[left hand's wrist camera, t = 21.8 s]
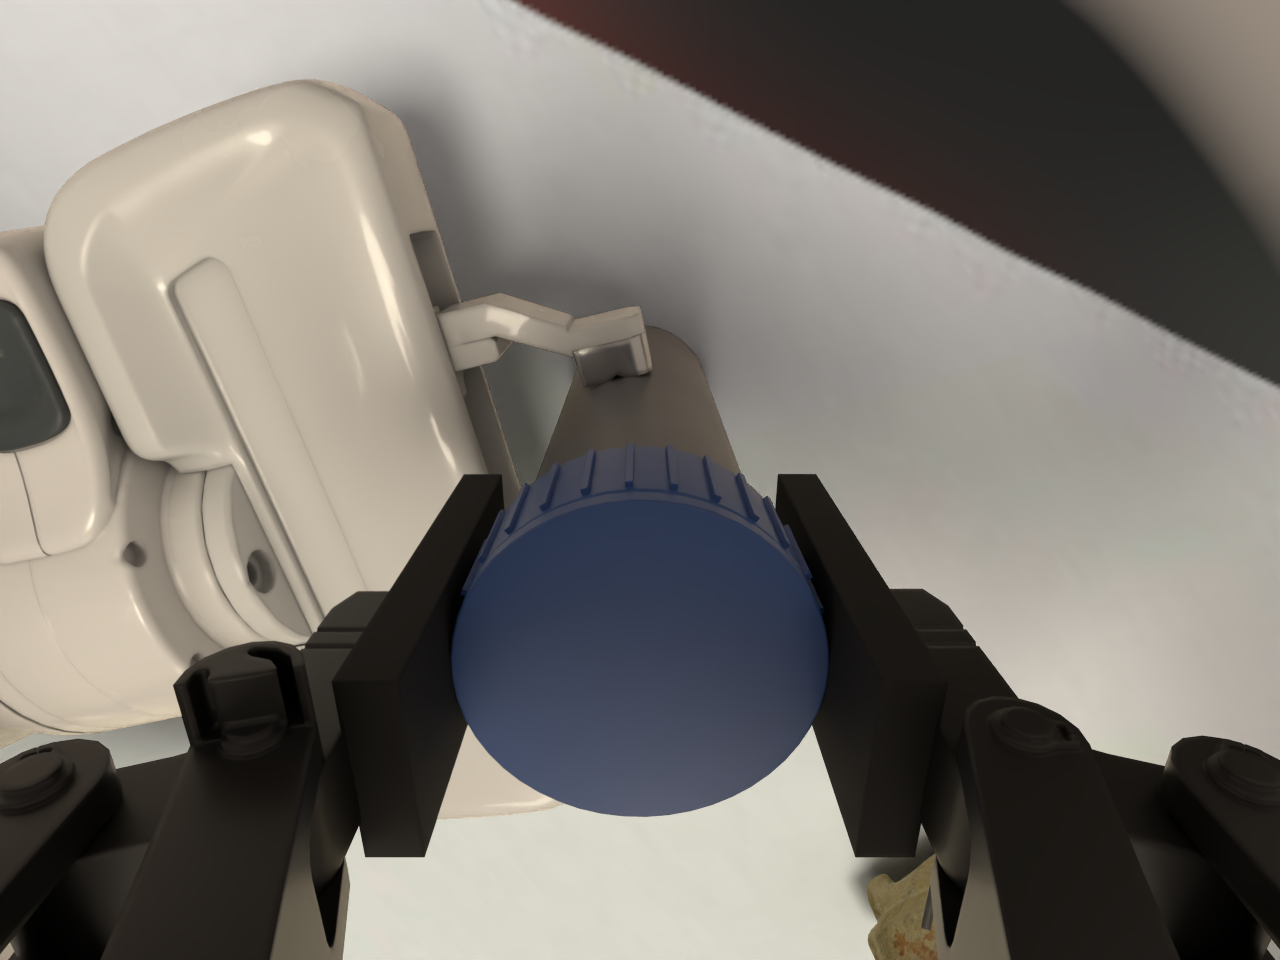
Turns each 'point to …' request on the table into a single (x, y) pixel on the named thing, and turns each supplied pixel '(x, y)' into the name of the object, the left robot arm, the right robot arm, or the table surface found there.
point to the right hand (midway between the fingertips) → (672, 447)
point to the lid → (639, 635)
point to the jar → (644, 410)
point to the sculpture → (901, 916)
